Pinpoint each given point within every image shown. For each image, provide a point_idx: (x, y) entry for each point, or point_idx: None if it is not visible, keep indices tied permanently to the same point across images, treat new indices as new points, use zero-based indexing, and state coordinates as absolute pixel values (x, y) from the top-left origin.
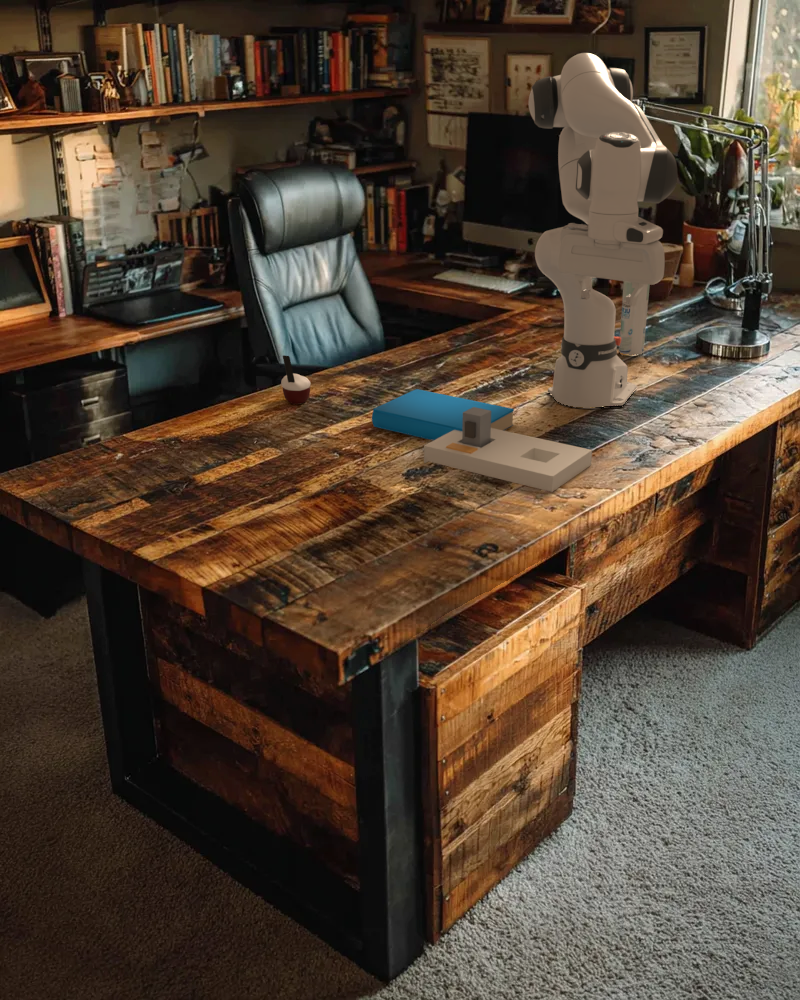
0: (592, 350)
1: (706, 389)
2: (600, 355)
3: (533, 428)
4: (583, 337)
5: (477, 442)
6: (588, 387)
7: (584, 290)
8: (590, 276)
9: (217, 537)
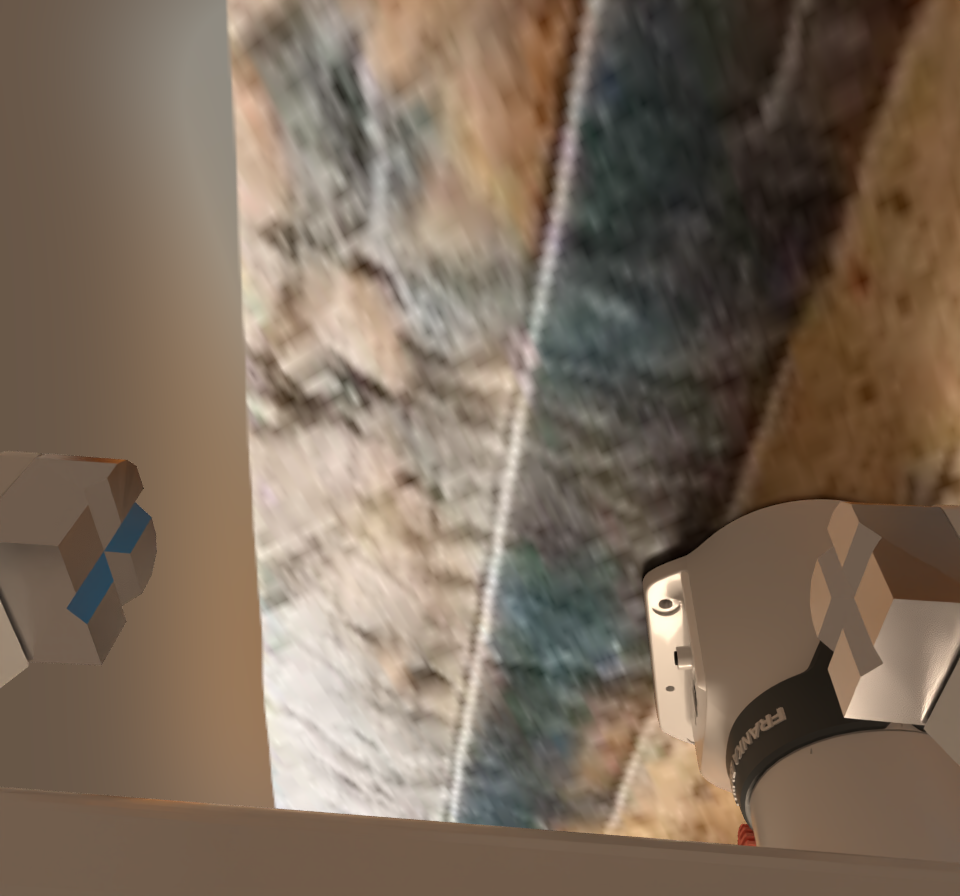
0: (816, 714)
1: (469, 781)
2: (773, 708)
3: (926, 209)
4: (885, 764)
5: None
6: (782, 577)
7: (939, 608)
8: (919, 862)
9: None
